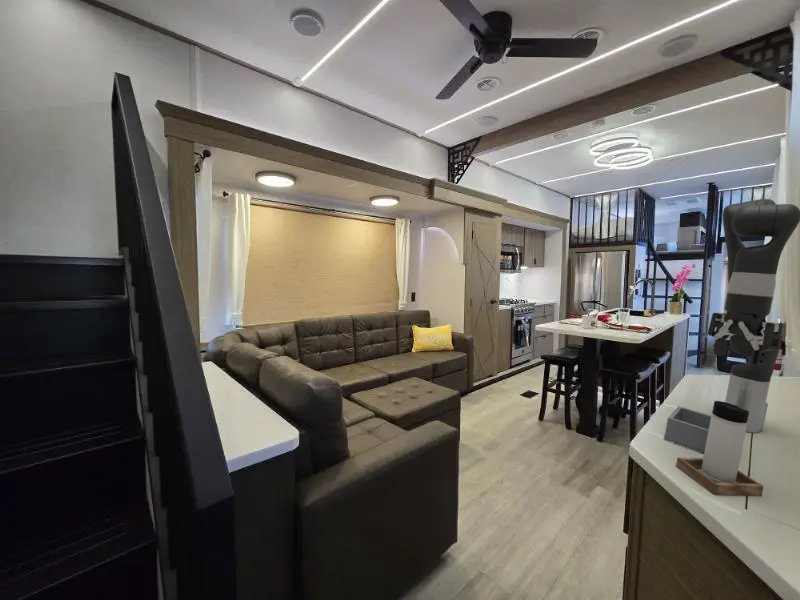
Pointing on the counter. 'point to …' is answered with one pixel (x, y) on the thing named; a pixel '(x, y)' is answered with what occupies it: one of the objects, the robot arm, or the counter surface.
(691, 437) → the gray bin
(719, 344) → the robot arm
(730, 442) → the travel mug
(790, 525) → the counter surface
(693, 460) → the walnut holder
